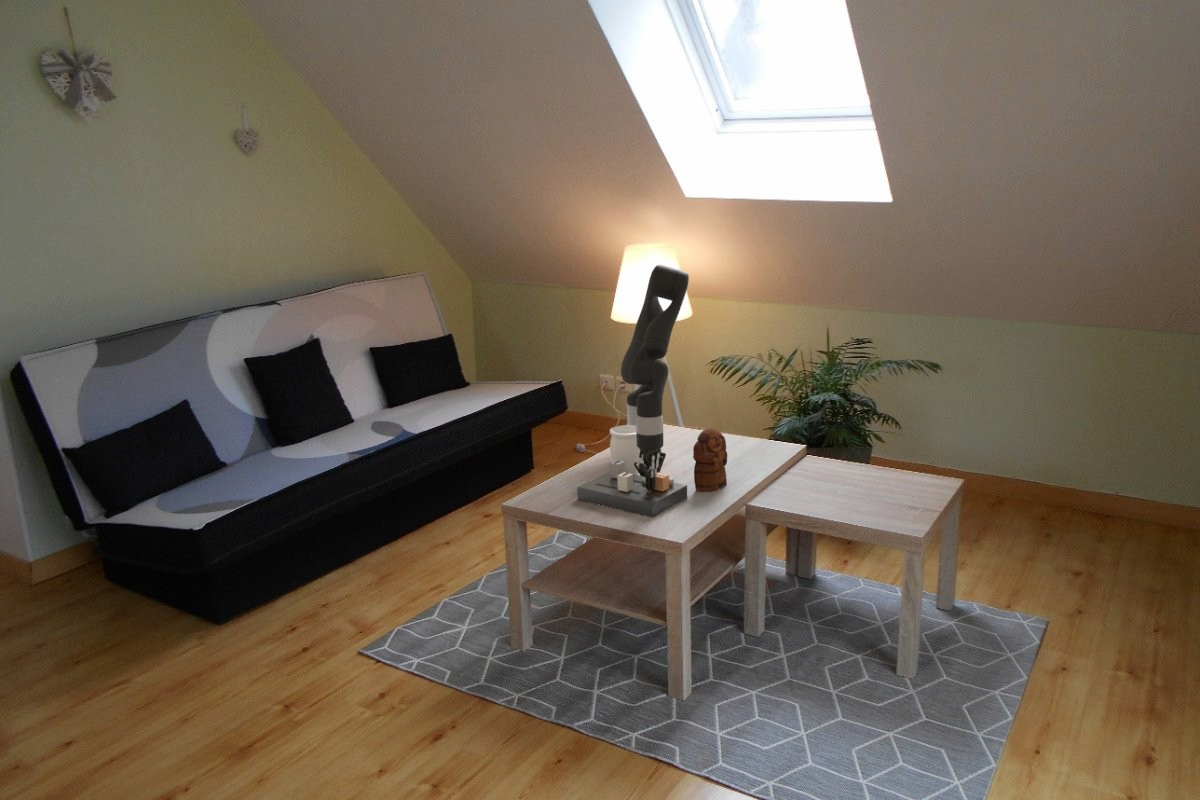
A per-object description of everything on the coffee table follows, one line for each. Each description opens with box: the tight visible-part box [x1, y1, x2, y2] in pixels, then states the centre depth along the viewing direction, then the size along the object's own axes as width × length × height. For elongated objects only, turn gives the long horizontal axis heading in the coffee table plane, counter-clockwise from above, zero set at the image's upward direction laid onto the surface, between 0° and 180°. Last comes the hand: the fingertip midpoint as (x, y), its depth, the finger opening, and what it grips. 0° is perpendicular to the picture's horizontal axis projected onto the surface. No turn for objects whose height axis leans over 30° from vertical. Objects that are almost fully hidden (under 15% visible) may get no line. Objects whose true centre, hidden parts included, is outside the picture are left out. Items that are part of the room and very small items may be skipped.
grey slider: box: [609, 460, 625, 479], centre depth 296 cm, size 3×3×5 cm
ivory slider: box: [617, 472, 633, 492], centre depth 285 cm, size 3×3×5 cm
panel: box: [576, 471, 688, 518], centre depth 289 cm, size 18×26×6 cm
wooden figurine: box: [692, 427, 728, 493], centre depth 296 cm, size 12×6×18 cm, turn 141°
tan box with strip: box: [654, 472, 670, 491], centre depth 285 cm, size 3×5×4 cm, turn 53°
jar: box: [609, 424, 640, 475], centre depth 308 cm, size 11×10×15 cm
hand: (650, 489), depth 283 cm, fingers closed
